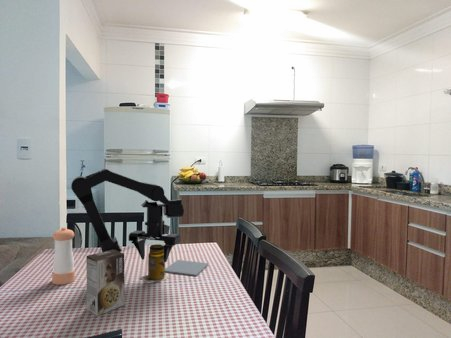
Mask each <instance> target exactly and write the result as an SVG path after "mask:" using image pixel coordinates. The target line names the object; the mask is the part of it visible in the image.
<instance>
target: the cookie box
mask: <svg viewBox="0 0 451 338" xmlns="http://www.w3.org/2000/svg"><path fill="white" fill-rule="evenodd" d="M125 288H126V287H125V253H123V252H119V251H117V250H108V251H104V252H102V251H99V252H97V253H93V254H89V255H88V254H87V255H86V310H88V311H89V312H90V313H93V314H94V315H95V316H101V315H103V314H106V313H108V312H110V311H113V310H116V309H119V308H121V307H123V306H125V300H126V299H125V295H126V294H125Z"/></svg>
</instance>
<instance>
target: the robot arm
mask: <svg viewBox="0 0 451 338" xmlns="http://www.w3.org/2000/svg"><path fill="white" fill-rule="evenodd" d="M104 182H108V183H111V184H114V185H117V186H120V187H122V188H124V189H125V188H126V189H128V190H131V191H135V192H137V193H138V194H141V195H142V196H144V197H146V198H148V200H151V201H148V200H147V199H145V200H144V201H143V203H141V207H142V208H146V222H144V226H146V231H145V230H134V231H132V232H129V234H128V239H127V240H128V241H129V242H131V244H133V246H134V247H135V248H136V250H137V252H138V254H139V257H140V258H141V260H143V261H144V260H145V258H146V257H145V256H146V252H145V250H146V249H145V244H146V241H147V240H150V241H161V242H163V243H164V244H162V245H163V249H164V262H165V263H167V262H168V260H169V259H168V258H169V256H170V254H171V251H172V249H173V247H174V246H176V245H177V244H180V243H181V235H180V234H178V233H170V227H171V226H170V225H168V224H165V220H163V219H164V218H163V217H164V216H165V217H166V218H167V219H171V218H172V219H174V218H176V219H177V218H183V216H184V213H185V212H184V211H185V210H184V205H183V200H182V199H181V198H179V199H178V198H177V199H169V198H167V196H166V195H165V189H164V188H163V186H160V185H158V184H156V183H149V182H144V181H139V180H136V179H134V178H133V179H132V178H130V177H127V176H125V175H122V174H119V173H116V172H114V171H112V170H109V169H107V168H102V169H101V170H99V171H96V172H94V173H91V174H88V175H86V176H82V175H79V176H76V177H75V178H73V180H72V182H71V185H70V186H71V191H72V192H73V193H74V196H76V198H77V199H78V200H79V202H80V203H81V204H82V205H83V208H84V210H85V211H86V214H87V217H88V219H89V220H90V221H89V222H90V223H91V225H92V228H93V230H94V232H95V234H96V236H97V239H98V240H99V245H100V247H101V248H100V249H101V252H104V251H108V250H117V251H119V252H121V253H123V250H122V248H121V247H122V246H120V245H119V240H118V239H117V237H116V236H115V237H111V235H110V234H109V232H108V229H107V227H106V225H105V223H104V220H103V218H102V216H101V214H100V212H99V210H98V209H99V208H98V207H97V204H96V201H95V200H94V195H93V191H92V188H95V187H96V186H98V185H100V184H102V183H104ZM158 202H160V203H158Z"/></svg>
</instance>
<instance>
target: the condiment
mask: <svg viewBox="0 0 451 338" xmlns="http://www.w3.org/2000/svg"><path fill="white" fill-rule="evenodd" d="M163 245H164V244H159V243H157V244H151V245H149V252H148V255H147V256H148V257H147V259H148V260H147V261H148V263H147V264H148V265H147V275H144V276H143V275H142V276H139V279H140V280H142V281H144V282H146V283H148V284H151V283H152V284H153V283H155V282H156V283H157V282H160V281H164V280H167V279H169V276H166V274H165V273H166V272H165V269H166V267H165V266H166V262H164V249H163Z"/></svg>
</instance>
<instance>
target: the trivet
mask: <svg viewBox="0 0 451 338" xmlns="http://www.w3.org/2000/svg"><path fill="white" fill-rule="evenodd" d="M208 264H210V263H209V262H208V263H207V262H199V261H190V260H184V259H182V260H181V259H177V260H175V261H174V262H173V263H171V264H170V265H169V266H167V267H165V273H169V274H176V275H177V274H178V275H184V276H190V277H191V276H192V277H197V276H198V275H200V274H201V273H202V272H203V271H204V270H203V269H204V268H205V267H206V266H207V267H208V266H209V265H208ZM207 267H206V268H207ZM206 268H205V269H206Z"/></svg>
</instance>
